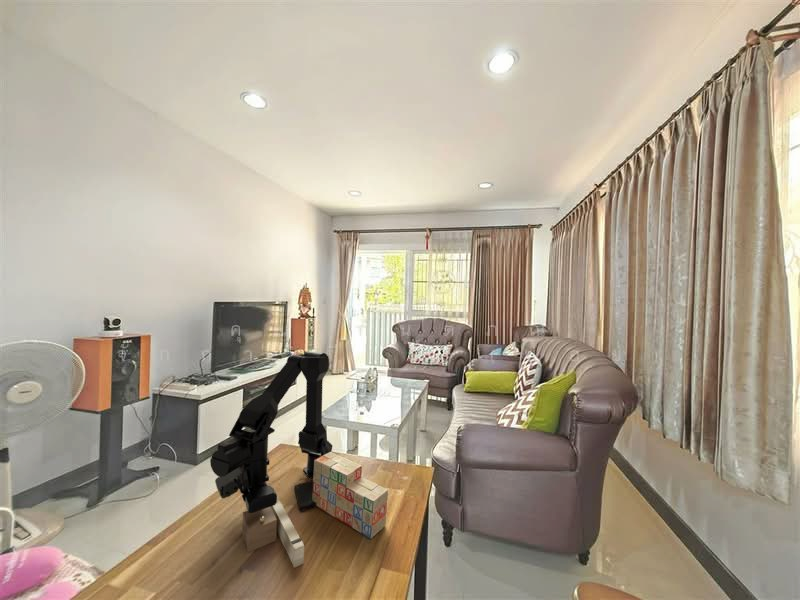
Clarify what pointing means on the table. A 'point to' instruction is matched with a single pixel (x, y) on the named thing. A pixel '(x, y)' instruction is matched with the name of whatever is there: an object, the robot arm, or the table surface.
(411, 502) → the table surface
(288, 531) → the rail
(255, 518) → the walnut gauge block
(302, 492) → the handheld gaming console
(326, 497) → the stack of blocks
